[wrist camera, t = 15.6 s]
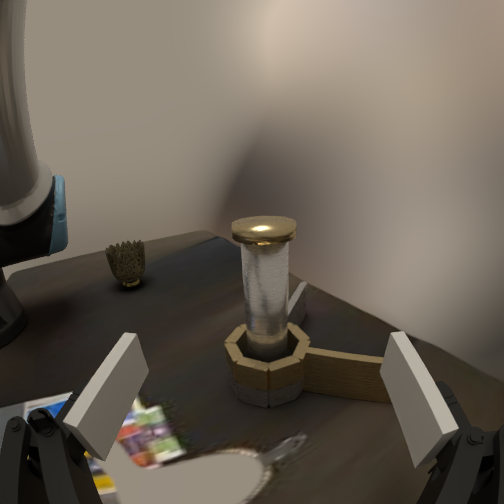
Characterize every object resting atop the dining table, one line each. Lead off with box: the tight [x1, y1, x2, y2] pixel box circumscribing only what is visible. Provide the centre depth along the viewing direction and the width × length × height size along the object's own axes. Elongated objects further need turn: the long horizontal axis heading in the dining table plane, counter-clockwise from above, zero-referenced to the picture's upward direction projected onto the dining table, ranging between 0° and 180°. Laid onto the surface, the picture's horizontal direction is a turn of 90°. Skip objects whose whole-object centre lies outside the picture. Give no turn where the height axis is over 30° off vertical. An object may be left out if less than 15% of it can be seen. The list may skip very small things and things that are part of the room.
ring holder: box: [224, 282, 392, 408], centre depth 26 cm, size 14×20×5 cm
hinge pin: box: [232, 216, 296, 363], centre depth 23 cm, size 5×5×16 cm
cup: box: [105, 240, 145, 289], centre depth 46 cm, size 8×7×8 cm
